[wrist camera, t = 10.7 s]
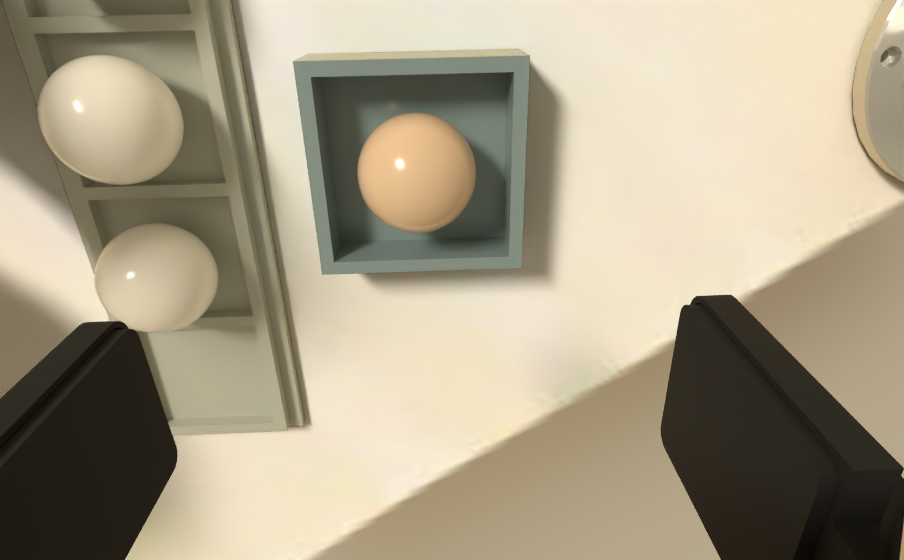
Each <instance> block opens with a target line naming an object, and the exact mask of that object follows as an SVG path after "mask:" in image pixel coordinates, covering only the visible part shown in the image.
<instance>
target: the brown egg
mask: <svg viewBox="0 0 904 560" xmlns="http://www.w3.org/2000/svg"><path fill="white" fill-rule="evenodd" d="M357 175H358V183H359V188H360V191H361V194H362V196H363V199H364V201H365V202H366V204H367V206H368V207H369V209H370V210H371V211H372V212H373V213H374V214H375V215H376V216H377V217H378V218H379V219H380V220H381V221H383V222H384V223H385V224H387V225H389V226H391V227H393V228H395V229H397V230H401V231H404V232H410V233H426V232H431V231H434V230H437V229H440V228H442V227H444V226H446V225H448V224H449V223H451V222H452V221H454V220H455V219H456V218H457V217H458V216H459V215H460V214H461V213H462V212H463V211H464V209H465V208H466V206H467V205H468V203H469V201H470V199H471V197H472V194H473V191H474V188H475V183H476V164H475V159H474V156H473V153H472V150H471V148H470V146H469V144H468V142H467V140H466V139H465V137H464V136H463V135H462V134H461V132H460V131H459V130H458V129H457V128H456V127H454V126H453V125H452V124H451V123H449V122H448V121H446V120H444V119H442V118H440V117H438V116H435V115H432V114H427V113H417V112H413V113H405V114H401V115H397V116H395V117H392V118H390V119H388V120H386V121H385V122H383V123H382V124H381V125H379V126H378V127H377V128H376V129H375V130H374V131H373V132H372V133H371V135H370V136H369V137H368V138H367V140H366V142H365V144H364V145H363V148H362V150H361V153H360V157H359V161H358V169H357Z"/></svg>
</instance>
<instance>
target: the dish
mask: <svg viewBox="0 0 904 560" xmlns="http://www.w3.org/2000/svg"><path fill="white" fill-rule="evenodd" d="M293 64H294V72H295V79H296V86H297V94H298V101H299V108H300V116H301V123H302V130H303V137H304V145H305V152H306V159H307V167H308V174H309V181H310V189H311V196H312V203H313V211H314V218H315V225H316V232H317V240H318V247H319V254H320V262H321V269H322V275H325V274H355V273H386V272H416V271H446V270H476V269H506V268H522V244H523V218H524V193H525V168H526V142H527V117H528V91H529V66H530V55H528V54H527V53H525V52H523V51H522V50H520V49H496V50H455V51H414V52H373V53H332V54H307V55H305V56H303V57H301V58H299V59H297V60H295V61H293ZM413 112H417V113H427V114H432V115H435V116H438V117H440V118H442V119H444V120H446V121H448V122H449V123H451V124H452V125H453V126H454V127H456V128H457V129H458V130H459V131H460V132H461V134H462V135H463V136H464V137H465V139H466V140H467V142H468V144H469V146H470V148H471V150H472V153H473V156H474V159H475V164H476V183H475V188H474V191H473V194H472V197H471V199H470V201H469V203H468V205H467V206H466V208H465V209H464V211H463V212H462V213H461V214H460V215H459V216H458V217H457V218H456V219H455V220H454V221H452V222H451V223H449V224H448V225H446V226H444V227H442V228H440V229H437V230H434V231H431V232H426V233H410V232H404V231H401V230H397V229H395V228H393V227H391V226H389V225H387V224H385V223H384V222H383V221H381V220H380V219H379V218H378V217H377V216H376V215H375V214H374V213H373V212H372V211H371V210H370V209H369V207H368V206H367V204H366V202H365V201H364V199H363V196H362V194H361V191H360V188H359V183H358V175H357V169H358V161H359V157H360V153H361V150H362V148H363V145H364V144H365V142H366V140H367V138H368V137H369V136H370V135H371V133H372V132H373V131H374V130H375V129H376V128H377V127H378V126H379V125H381V124H382V123H383V122H385V121H386V120H388V119H390V118H392V117H395V116H397V115H401V114H405V113H413Z"/></svg>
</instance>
